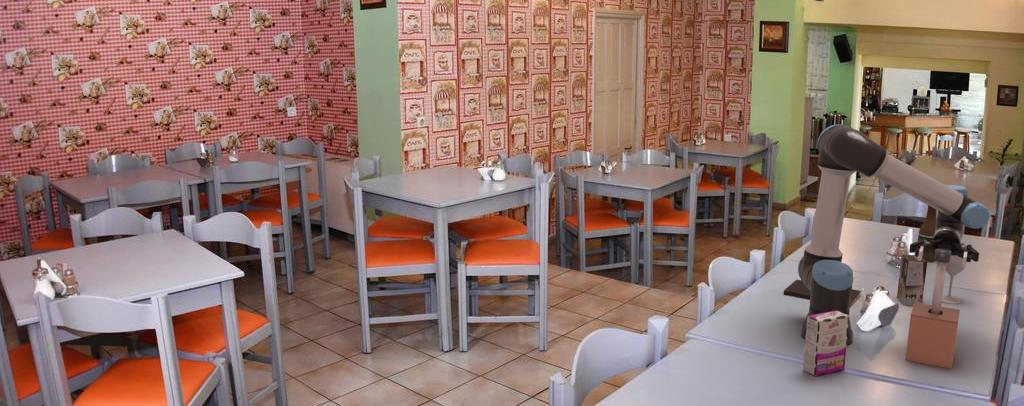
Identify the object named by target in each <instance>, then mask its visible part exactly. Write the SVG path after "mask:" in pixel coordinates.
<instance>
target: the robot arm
mask: <svg viewBox="0 0 1024 406" xmlns="http://www.w3.org/2000/svg"><path fill="white" fill-rule="evenodd" d="M817 150H818V153H819V157H818V160H817V161H818V162H817V167H818V169H820V171H821V174H820V175H821V176H820V181H819V187H818V194H817V199H816V200H817V201H816V207H815V211H814V212H815V214H814V219H813V226H812V231H811V238H810V243H809V245H806V246H804V251H803V256H802V257H801V258H800V259H799V262H798V265H797V273H798V276H799V278H800V279H799V280H801V281H802V282H803V283H804V285H806V287H807V288H808V289H809V290H810V292H811V294H810V300H809V307H808V311H807V314H806V317H805V318H804V321H803V324H802V325H801V328H800V330H801V331H800V336H801V337H802V338H804V339H805V340H806V326H807V316H810V315H816V314H821V313H826V312H832V311H840V312H842V313H844V314H847V315H849V316H850V312H851V311H850V310H851V309H850V308H851V307H850V302H851V293H852V289H853V284H854V270H853V269H852V268H851V266H850V265H848V264H847V263H845V262H842V260H843V254H844V253H843V252H842V251H841V250H840V243H841V236H842V230H843V225H844V220H845V219H844V217H845V212H846V206H847V200H848V195H849V194H848V193H849V188H850V182H851V176H852V175H854V173H855V172H857V173H859V174H862V175H864V176H865V177H867V178H871V177H875V178H876V179H878V180H880V181H882V182H884V183H887V184H888V185H889V186H892V187H893V188H895V189H897V190H898V191H901V192H902V193H905V194H907V195H908V196H910V197H911V198H913V199H916V200H917V201H920V202H922V203H923V204H925V205H927V206H928V205H929V206H931V207H932V208H934V209H936V210H937V212H936V228H935V234H934V237H933V240H932V241H930V242H926V240H925V239H923V238H922V239H920V240H919V241H918V240H916V241H915V242H912V243H910V244H909V251H908V252H909V253H911V254H914V255H916V256H917V257H918V260H919V261H921V259H922V256H923V254H924V253H929V252H932V253H935V250H936V249H947V250H950V251H951V255H953V256H959V257H960V258H962V259H963V264H962V267H965V268H966V266H967V263H971V262H972V261H973V262H977V263H978V262H979V259H980V258H979V257H980V252H978V251H977V250H976V249H975V248H974V247H973V245H972V244H966V245H965V247H963V246H962V245H961V244H960V243H962V238H963V232H964V231H963V230H964V227H967V228H970V229H974V230H975V229H980V228H983V227H985V226H986V224H988V222H989V221H990V216H991V214H990V210H989V208H988V207H987V206H986V205H984V204H983V203H981V202H978V201H976V200H974V199H972V198H970V197H969V195H968V192H969V191H968V188H967V187H965V186H963V185H957V184H945V183H943V182H940V181H939V180H937V179H935V178H934V177H931V176H930V175H928V174H926V173H924V172H922V171H920V170H919V169H917V168H915V167H913V166H911V165H909V164H908V163H906V162H905V161H902V160H900V159H898V158H897V157H894V156H892V155H891V154H889V152H888V149H887V148H886V147H883V146H882V145H880V144H878V143H877V142H876V141H875V140H872V139H871V138H870V137H868V136H867V135H866V134H865V133H863V132H862V131H860V130H858V129H855V128H853V127H851V126H850V125H846V124H833V125H830V126H827V127H826V128H825V129H824V130H823V131H821V133H820V135H819V137H818V139H817ZM965 265H966V266H965ZM853 341H854V331H853V329H852V324H851V319H850V318H849V322H848V334H847V346H848V345H850V344H852V343H853Z"/></svg>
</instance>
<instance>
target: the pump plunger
mask: <svg viewBox="0 0 1024 406" xmlns="http://www.w3.org/2000/svg"><path fill="white" fill-rule="evenodd" d="M950 258H951V251H950V250H947V249H936V250H935V258H934V260H935V262H936V267H935V268H936V270H935V277H934V285H933V294H932V300H931V301H932V302H931V305H932V307H931V313H934V314H940V311H941V307H942V303H943V302H942V297H943V295H944V286H945V279H946V273H947V272H946V264H947V263H948V262H950Z"/></svg>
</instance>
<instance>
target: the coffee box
mask: <svg viewBox="0 0 1024 406" xmlns="http://www.w3.org/2000/svg"><path fill="white" fill-rule="evenodd" d="M900 255H901V256H900V264H899V265H900V266H899V272H898V273H899V274H898V281H897V282H898V283H897V294H896V298H897V299H898V300H899V302H900V303H901V304H902V305H904V306H914V303H922V304H923V299H924V293H925V292H924V290H925V286H926V285H925V283H926V276H927V267H928V263H929V262H927V261H926V260H925V259H923V258H922V259H921V261H919V260H918V257H917V256H916V255H915V254H900Z"/></svg>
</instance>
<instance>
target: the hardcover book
mask: <svg viewBox="0 0 1024 406" xmlns="http://www.w3.org/2000/svg"><path fill="white" fill-rule="evenodd" d="M861 292H862V290H859V289H853V288H852V293H851V302H850V308H851V307H852V305H854V303H855V302H856V301H857V300H858V299H859V297H860V296H861ZM810 294H811V292H810V290H809V289H808V288H807V287H806V285H804V283H803V282H802V281H801V279H796V280H794V281H793V282H791V284H790V285H788V286H787V287H786V288H785V289H784V290H783V295H784V296H789V297H793V298H799V299H804V300H809V301H810ZM855 300H856V301H855ZM854 301H855V302H854Z"/></svg>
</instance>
